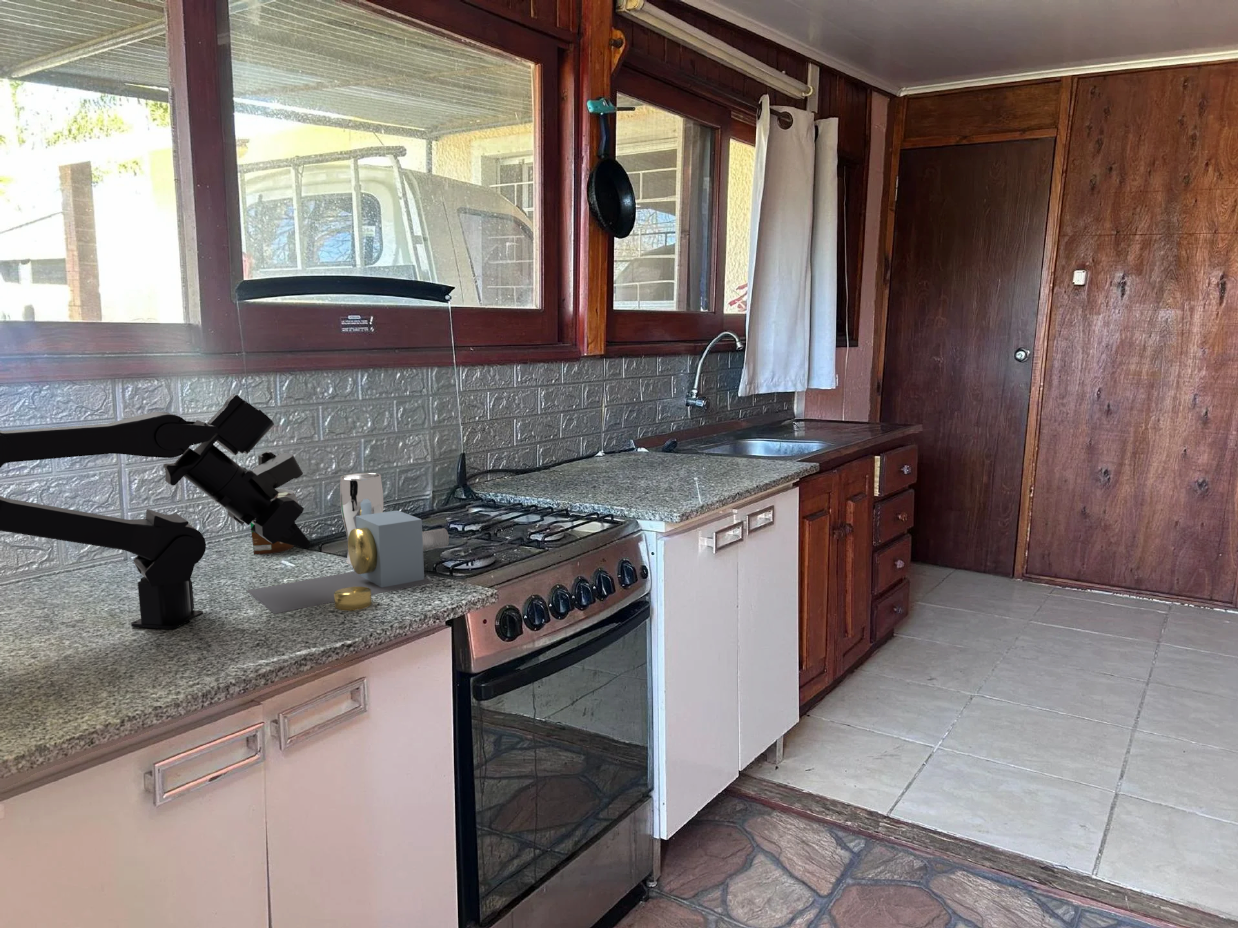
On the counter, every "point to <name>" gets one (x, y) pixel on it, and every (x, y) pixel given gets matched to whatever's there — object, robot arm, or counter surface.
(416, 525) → the bearing block
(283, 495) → the food container
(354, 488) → the beer glass
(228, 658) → the counter surface
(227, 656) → the counter surface
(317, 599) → the mat
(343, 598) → the gold domed disc
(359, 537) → the shaft
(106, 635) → the counter surface
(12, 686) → the counter surface
